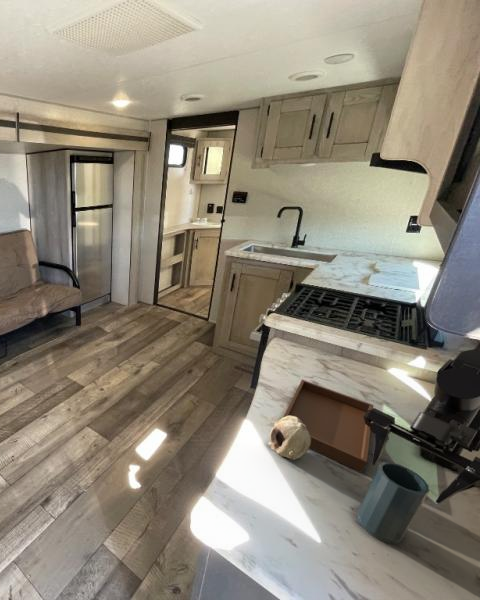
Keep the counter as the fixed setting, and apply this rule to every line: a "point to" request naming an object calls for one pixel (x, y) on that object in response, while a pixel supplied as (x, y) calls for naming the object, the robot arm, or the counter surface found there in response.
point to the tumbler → (391, 502)
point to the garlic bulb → (290, 437)
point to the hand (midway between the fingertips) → (403, 482)
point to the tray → (333, 423)
